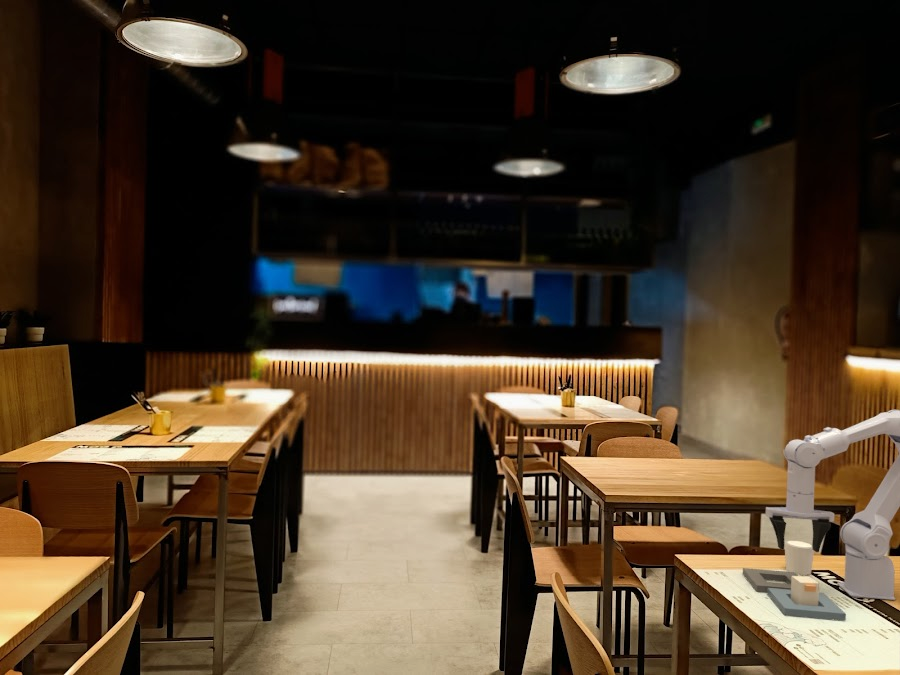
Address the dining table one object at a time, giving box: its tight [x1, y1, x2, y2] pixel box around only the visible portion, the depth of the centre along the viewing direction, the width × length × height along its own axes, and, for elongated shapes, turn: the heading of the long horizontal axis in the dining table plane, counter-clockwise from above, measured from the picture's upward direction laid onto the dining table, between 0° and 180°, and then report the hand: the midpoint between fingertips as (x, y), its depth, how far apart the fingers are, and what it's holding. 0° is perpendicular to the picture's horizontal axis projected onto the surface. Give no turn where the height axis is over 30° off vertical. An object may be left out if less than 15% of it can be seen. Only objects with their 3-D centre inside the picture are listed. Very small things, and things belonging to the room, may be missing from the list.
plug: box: [791, 575, 820, 606], centre depth 149 cm, size 4×5×6 cm
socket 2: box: [766, 588, 847, 621], centre depth 149 cm, size 12×12×2 cm
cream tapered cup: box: [784, 539, 815, 576], centre depth 172 cm, size 7×7×7 cm
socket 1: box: [742, 567, 799, 594], centre depth 162 cm, size 12×12×2 cm
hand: (798, 549), depth 159 cm, fingers open, 7 cm apart
